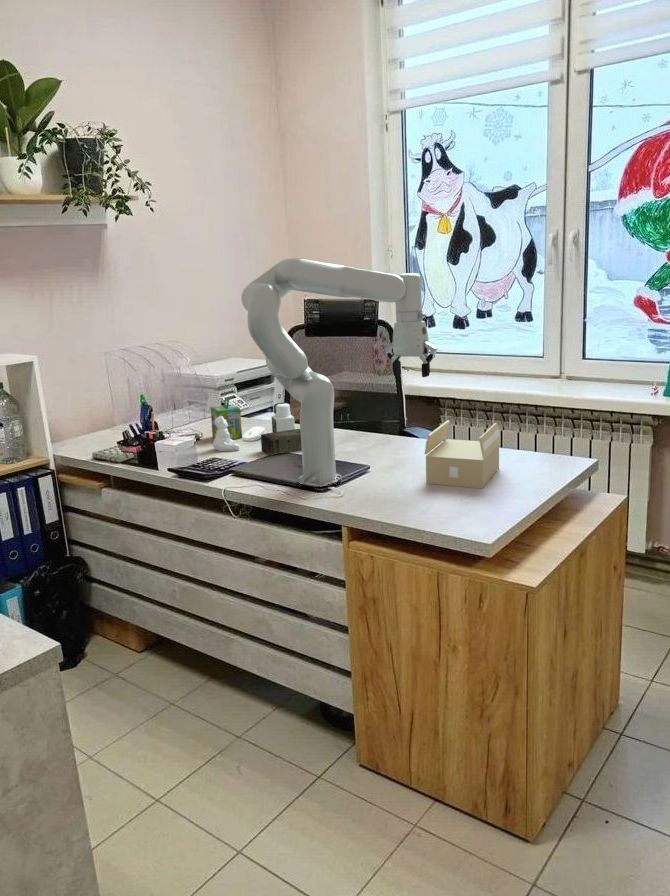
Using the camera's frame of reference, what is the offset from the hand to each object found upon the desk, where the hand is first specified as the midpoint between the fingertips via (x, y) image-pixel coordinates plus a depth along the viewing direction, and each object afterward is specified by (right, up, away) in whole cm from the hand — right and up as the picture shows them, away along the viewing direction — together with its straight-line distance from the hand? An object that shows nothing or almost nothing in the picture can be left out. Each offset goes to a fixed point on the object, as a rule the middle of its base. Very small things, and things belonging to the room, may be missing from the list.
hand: (411, 375), depth 214 cm
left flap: (+7, -18, -4) cm, 20 cm away
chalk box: (-63, -18, +56) cm, 86 cm away
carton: (+15, -29, -4) cm, 33 cm away
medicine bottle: (-42, -17, +56) cm, 72 cm away
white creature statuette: (-61, -22, +39) cm, 76 cm away
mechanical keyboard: (-89, -22, +45) cm, 103 cm away
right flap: (+21, -19, -10) cm, 30 cm away
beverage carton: (-38, -22, +35) cm, 56 cm away
